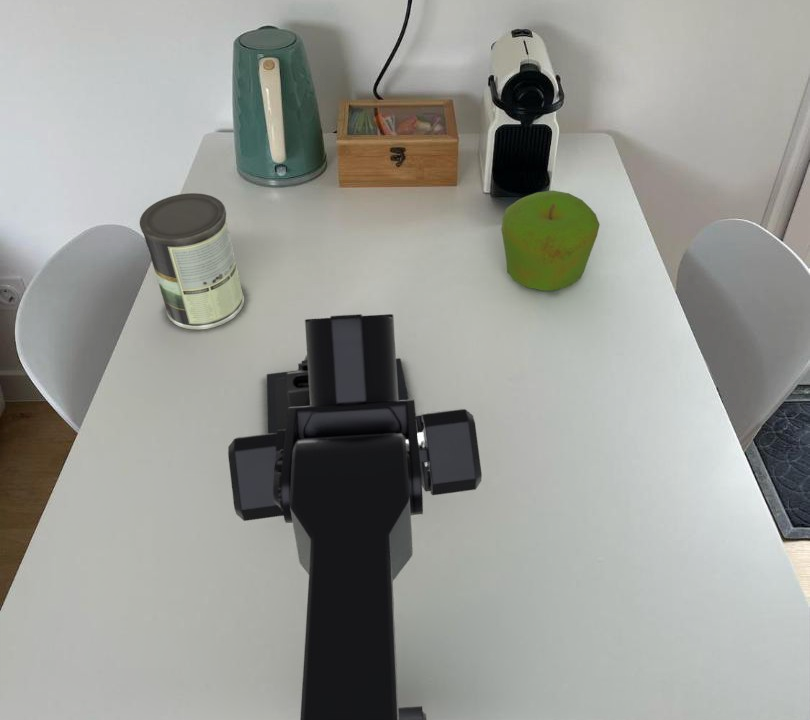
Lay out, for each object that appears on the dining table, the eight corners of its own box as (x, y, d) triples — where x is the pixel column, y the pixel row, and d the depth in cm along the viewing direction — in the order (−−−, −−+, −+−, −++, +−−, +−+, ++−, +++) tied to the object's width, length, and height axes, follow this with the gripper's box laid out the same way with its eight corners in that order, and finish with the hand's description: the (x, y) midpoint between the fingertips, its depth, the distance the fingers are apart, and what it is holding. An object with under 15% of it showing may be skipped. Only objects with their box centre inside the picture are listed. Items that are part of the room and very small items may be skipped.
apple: (513, 242, 116) (518, 172, 108) (599, 258, 112) (610, 187, 105) (487, 293, 108) (491, 221, 100) (579, 312, 104) (589, 239, 96)
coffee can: (153, 326, 105) (124, 234, 95) (185, 278, 112) (161, 189, 103) (228, 334, 103) (206, 242, 94) (255, 286, 111) (237, 196, 101)
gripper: (478, 337, 56) (448, 351, 71) (204, 370, 54) (235, 377, 70) (498, 498, 55) (464, 477, 71) (223, 536, 54) (250, 506, 69)
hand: (354, 456), depth 70 cm, fingers open, 9 cm apart
